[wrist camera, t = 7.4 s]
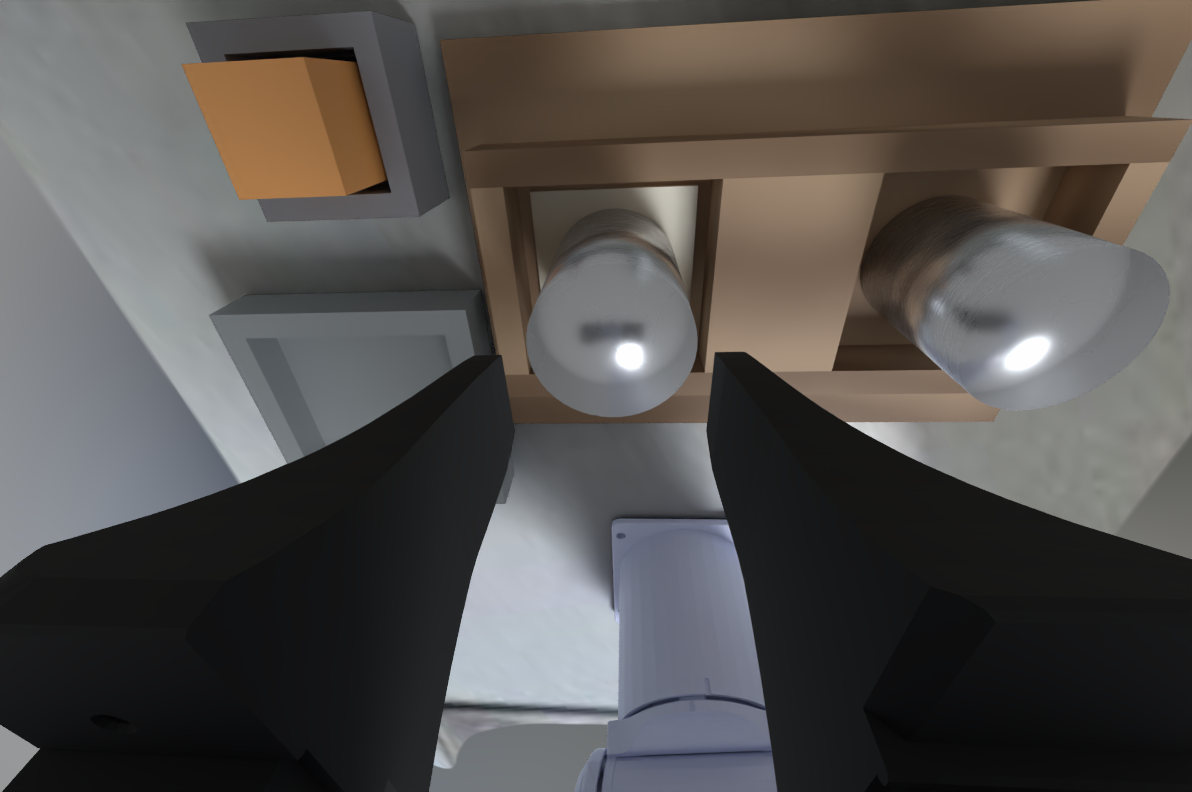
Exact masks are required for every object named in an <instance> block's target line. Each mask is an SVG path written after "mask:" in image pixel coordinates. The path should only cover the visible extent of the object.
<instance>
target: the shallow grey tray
mask: <svg viewBox="0 0 1192 792" xmlns="http://www.w3.org/2000/svg"><path fill="white" fill-rule="evenodd" d="M209 317H210V318H211V320H212V322H213V324H214V326H215V328H216V330H217V332H218V334H219V335H220V337H221V339H222V341H223V343H224V345H225V347H226V349H227V351H228V352H229V354H230V356H231V358H232V360H233V362H234V364H235V366H236V368H237V370H238V371H239V373H240V375H241V377H242V379H243V381H244V383H245V385H246V387H247V388H248V390H249V392H250V394H251V396H252V398H253V400H254V402H255V404H256V405H257V407H258V409H259V411H260V413H261V415H262V417H263V419H264V421H265V423H266V424H267V426H268V428H269V430H270V432H271V434H272V436H273V438H274V440H275V441H276V443H277V445H278V447H279V449H280V451H281V453H282V455H283V457H284V458H285V460H286V462H287V464H288V463H291V462H293V461H295V460H298V459H300V458H302V457H304V456H307V455H309V454H311V453H313V452H315V451H317V450H319V449H321V448H323V447H325V446H327V445H329V444H331V443H333V442H335V441H337V440H339V439H341V438H343V437H345V436H347V435H349V434H351V433H352V432H354V431H356V430H358V429H360V428H362V427H363V426H365V425H367V424H369V423H370V422H372V421H373V420H375V419H377V418H378V417H380V416H382V415H383V414H385V413H386V412H388V411H390V410H391V409H393V408H394V407H396V406H398V405H399V404H401V403H402V402H404V401H406V400H407V399H409V398H410V397H412V396H413V395H415V394H416V393H418V392H419V391H421V390H422V389H424V388H425V387H426V386H428V385H429V384H431V383H432V382H434V381H435V380H437V379H438V378H440V377H441V376H443V375H444V374H445V373H447V372H448V371H450V370H451V369H453V368H454V367H456V366H457V365H459V364H460V363H462V362H463V361H465V360H467V359H468V358H470V357H472V356H474V355H492V352H491V346H490V341H489V336H488V330H487V325H486V319H485V314H484V309H483V303H482V298H481V292H480V290H440V291H398V292H355V293H312V294H269V295H245V296H243V297H241V298H240V299H238V300H236V301H234V302H232V303H230V304H229V305H227V306H225V307H223V308H221V309H219V310H218V311H216V312H214V313H212V314H210V315H209ZM513 476H514V471H513V466H512V460H511V455H510V459H509V464H508V469H507V472H506V475H505V478H504V481H503V484H502V487H501V490H500V493H499V496H498V498H497V501H496V504H506V500H507V497H508V493H509V490H510V486H511V483H512V479H513Z"/></svg>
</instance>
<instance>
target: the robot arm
mask: <svg viewBox="0 0 1192 792" xmlns="http://www.w3.org/2000/svg"><path fill="white" fill-rule="evenodd" d="M706 431H707V438H708V445H709V452H710V458H711V465H712V470H713V474H714V477H715V481H716V484H717V488H718V491H719V495H720V498H721V502H722V505H723V509H724V512H725V515H726V519H727V520H721V519H616V520H614V521H613V522H612V528H611V530H612V557H613V585H614V612H615V621H616V622H617V623H619V692H618V720H614V721H609V722H608V735H607V748H598V749H596V750H594V751H593V752H592V754H591V756H590V757H589V759H588V762H587V763H586V765H585V766H584V767H583V769H582V771H581V772H580V775H579V777H578V780H577V784H576V788H575V792H1192V559H1188V558H1185V557H1182V556H1179V555H1175V554H1172V553H1169V552H1166V551H1162V550H1160V549H1156V548H1153V547H1150V546H1147V545H1143V544H1140V543H1137V542H1134V541H1130V540H1127V539H1124V538H1121V537H1117V536H1114V535H1111V534H1108V533H1104V532H1101V531H1098V530H1095V529H1092V528H1088V527H1085V526H1082V525H1079V524H1076V523H1073V522H1070V521H1067V520H1064V519H1061V518H1058V517H1055V516H1053V515H1050V514H1047V513H1044V512H1042V511H1039V510H1036V509H1033V508H1030V507H1028V506H1025V505H1022V504H1019V503H1017V502H1014V501H1011V500H1008V499H1006V498H1003V497H1001V496H998V495H996V494H993V493H990V492H988V491H985V490H983V489H980V488H978V487H975V486H973V485H970V484H968V483H966V482H963V481H961V480H959V479H957V478H954V477H952V476H950V475H947V474H945V473H943V472H941V471H938V470H936V469H934V468H931V467H929V466H927V465H925V464H923V463H921V462H918V461H916V460H914V459H912V458H910V457H908V456H906V455H904V454H902V453H900V452H898V451H896V450H894V449H892V448H890V447H889V446H887V445H885V444H883V443H881V442H879V441H877V440H875V439H873V438H872V437H870V436H868V435H866V434H864V433H862V432H861V431H859V430H857V429H856V428H854V427H852V426H850V425H849V424H847V423H846V422H844V421H842V420H841V419H839V418H838V417H836V416H835V415H833V414H831V413H830V412H828V411H827V410H825V409H823V408H822V407H821V406H819V405H818V404H816V403H815V402H813V401H812V400H810V399H809V398H807V397H806V396H805V395H803V394H802V393H800V392H799V391H798V390H796V389H795V388H793V387H792V386H791V385H789V384H788V383H787V382H785V381H784V380H783V379H781V378H780V377H779V376H777V375H776V374H775V373H773V372H772V371H771V370H769V369H768V368H767V367H766V366H764V365H763V364H762V363H760V362H759V361H758V360H756V359H755V358H754V357H752V356H751V355H749V354H748V353H746V352H715V355H714V364H713V374H712V383H711V393H710V402H709V411H708V421H707V430H706ZM514 432H515V429H514V423H513V418H512V412H511V406H510V400H509V394H508V389H507V383H506V377H505V371H504V365H503V360H502V355H474V356H472V357H470V358H468V359H467V360H465V361H463V362H462V363H460V364H459V365H457V366H456V367H454V368H453V369H451V370H450V371H448V372H447V373H445V374H444V375H443V376H441V377H440V378H438V379H437V380H435V381H434V382H432V383H431V384H429V385H428V386H426V387H425V388H424V389H422V390H421V391H419V392H418V393H416V394H415V395H413V396H412V397H410V398H409V399H407V400H406V401H404V402H402V403H401V404H399V405H398V406H396V407H394V408H393V409H391V410H390V411H388V412H386V413H385V414H383V415H382V416H380V417H378V418H377V419H375V420H373V421H372V422H370V423H369V424H367V425H365V426H363V427H362V428H360V429H358V430H356V431H354V432H352V433H351V434H349V435H347V436H345V437H343V438H341V439H339V440H337V441H335V442H333V443H331V444H329V445H327V446H325V447H323V448H321V449H319V450H317V451H315V452H313V453H311V454H309V455H307V456H304V457H302V458H300V459H298V460H295V461H293V462H291V463H288V464H286V465H284V466H281V467H279V468H277V469H274V470H272V471H270V472H267V473H265V474H263V475H260V476H258V477H256V478H253V479H251V480H248V481H246V482H243V483H241V484H238V485H235V486H233V487H230V488H227V489H225V490H222V491H219V492H217V493H214V494H211V495H208V496H205V497H203V498H200V499H197V500H194V501H191V502H188V503H185V504H182V505H179V506H177V507H174V508H171V509H167V510H165V511H161V512H158V513H155V514H152V515H149V516H145V517H142V518H139V519H136V520H132V521H129V522H125V523H122V524H118V525H115V526H112V527H108V528H105V529H101V530H98V531H95V532H91V533H88V534H84V535H81V536H77V537H74V538H71V539H67V540H63V541H60V542H56V543H52V544H48V545H45V546H43V547H41V548H40V549H38V550H36V551H35V552H33V553H32V554H30V555H29V556H27V557H26V558H25V559H23V560H22V561H21V562H19V563H18V564H17V565H15V566H14V567H13V568H12V569H10V570H9V571H8V572H7V573H5V574H4V575H3V576H2V577H0V725H2V726H3V727H5V728H7V729H8V730H10V731H12V732H13V733H15V734H16V735H18V736H20V737H21V738H23V739H24V740H26V741H28V742H29V743H31V744H32V745H34V746H36V747H37V748H40V750H39V751H38V752H37V753H36V754H35V755H34V756H33V758H32V759H31V760H30V761H29V762H28V763H27V764H26V765H25V766H24V768H23V769H22V770H21V771H20V772H19V773H18V774H17V775H16V777H15V778H14V779H13V780H12V781H11V782H10V783H9V785H8V786H7V787H6V788H5V789H4V790H3V792H429V787H430V781H431V775H432V768H433V763H434V757H435V751H436V745H437V739H438V733H439V728H440V723H441V718H442V712H443V707H444V702H445V696H446V691H447V686H448V681H449V675H450V670H451V665H452V661H453V656H454V651H455V647H456V642H457V637H458V632H459V628H460V623H461V619H462V614H463V610H464V606H465V601H466V597H467V593H468V588H469V584H470V580H471V576H472V572H473V569H474V566H475V562H476V559H477V556H478V553H479V550H480V547H481V544H482V541H483V538H484V536H485V533H486V530H487V527H488V524H489V521H490V518H491V516H492V513H493V510H494V507H495V504H496V501H497V498H498V496H499V493H500V490H501V487H502V484H503V481H504V478H505V475H506V472H507V469H508V464H509V459H510V454H511V449H512V444H513V438H514ZM620 533H622V534H620Z"/></svg>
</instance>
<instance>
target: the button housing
mask: <svg viewBox="0 0 1192 792" xmlns="http://www.w3.org/2000/svg"><path fill="white" fill-rule="evenodd" d="M186 24H187V27H188V29H189V32H190V34H191V37H192V39H193V42H194V44H195V47H196V49H197V51H198V54H199V56H200V59H201V61H202V63H210V62H228V61H245V60H262V59H279V58H296V57H308V58H332V57H349V56H356V59H357V63H358V67H359V71H360V74H361V78H362V82H363V86H364V90H365V94H366V97H367V101H368V105H369V109H370V113H371V117H372V120H373V124H374V128H375V132H376V136H377V140H378V143H379V147H380V151H381V155H382V159H383V162H384V166H385V170H386V174H387V178H388V180H386V181H383V182H381V183H378V184H375V185H373V186H370V187H368V188H365V189H362V190H360V191H357V192H355V193H352V194H349V195H347V196H325V197H299V198H272V199H258V201H259V203H260V206H261V208H262V211H263V213H264V215H265V218H266V220H267V222H276V221H305V220H334V219H363V218H393V217H420V216H421V215H423V214H424V213H426V212H428V211H429V210H431V209H432V208H434V207H436V206H437V205H439V204H440V203H442V202H444V201H445V200H447V199H448V198H449V193H448V188H447V183H446V178H445V173H444V168H443V162H442V157H441V152H440V147H439V142H438V137H437V132H436V127H435V122H434V117H433V112H432V107H431V102H430V97H429V92H428V87H427V82H426V77H425V72H424V67H423V62H422V57H421V52H420V47H419V42H418V37H417V32H416V27H415V24H413V23H409V22H406V21H403V20H400V19H396V18H393V17H390V16H386V15H383V14H380V13H377V12H373V11H360V12H344V13H329V14H313V15H298V16H282V17H267V18H251V19H236V20H220V21H205V22H189V23H186Z"/></svg>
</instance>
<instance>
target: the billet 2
mask: <svg viewBox="0 0 1192 792" xmlns="http://www.w3.org/2000/svg"><path fill="white" fill-rule="evenodd" d="M861 287H862V291H863V294H864V296H865V299H866V300H867V302H868V303H869V304H870V305H871V306H872V307H873V308H874V309H875V310H876V311H877V312H878V313H879V314H880V315H881V316H882V317H884V318H885V319H886V320H887V321H888V322H889V323H890V324H892V325H893V326H894V327H895V328H896V329H897V330H898V331H899V332H901V333H902V334H903V335H904V336H905V337H906V338H907V339H908V340H910V341H911V342H912V343H913V344H914V345H915V346H916V347H917V348H919V349H920V350H921V351H922V352H923V353H924V354H925V355H926V356H928V357H929V358H930V359H931V360H932V361H933V362H934V363H935V364H937V365H938V366H939V367H940V368H941V369H942V370H943V371H945V372H946V373H947V374H948V375H949V376H950V377H951V378H952V379H954V380H955V381H956V382H957V383H958V384H959V385H960V386H961V387H963V388H964V389H965V390H966V391H967V392H968V393H969V394H970V395H972V396H973V397H974V398H976V399H977V400H978V401H980V402H982V403H984V404H986V405H988V406H992V407H995V408H999V409H1005V410H1031V409H1038V408H1044V407H1048V406H1052V405H1056V404H1059V403H1062V402H1065V401H1068V400H1071V399H1073V398H1076V397H1078V396H1080V395H1082V394H1084V393H1086V392H1089V391H1091V390H1093V389H1094V388H1096V387H1098V386H1099V385H1101V384H1103V383H1105V382H1106V381H1107V380H1109V379H1110V378H1112V377H1113V376H1115V375H1116V374H1118V373H1119V372H1120V371H1121V370H1123V369H1124V368H1125V367H1126V366H1128V365H1129V364H1130V363H1131V362H1132V361H1133V360H1134V359H1135V358H1136V357H1137V356H1138V355H1139V354H1140V353H1141V352H1142V351H1143V349H1144V348H1145V347H1146V346H1147V345H1148V343H1149V342H1150V341H1151V339H1152V338H1153V337H1154V335H1155V334H1156V332H1157V330H1158V329H1159V327H1160V325H1161V323H1162V321H1163V319H1164V316H1165V314H1166V310H1167V307H1168V303H1169V293H1170V291H1169V282H1168V279H1167V276H1166V274H1165V272H1164V270H1163V269H1162V267H1161V266H1160V265H1159V264H1158V263H1157V262H1156V261H1155V260H1154V259H1153V258H1152V257H1150V256H1148V255H1146V254H1145V253H1143V252H1140V251H1137V250H1134V249H1131V248H1128V247H1125V246H1122V245H1119V244H1115V243H1112V242H1109V241H1106V240H1103V239H1100V238H1096V237H1093V236H1090V235H1087V234H1084V233H1081V232H1077V231H1074V230H1071V229H1068V228H1065V227H1062V226H1059V225H1055V224H1052V223H1049V222H1046V221H1043V220H1040V219H1036V218H1033V217H1030V216H1027V215H1024V214H1021V213H1017V212H1014V211H1011V210H1008V209H1005V208H1002V207H998V206H995V205H992V204H989V203H986V202H983V201H980V200H976V199H973V198H970V197H966V196H961V195H944V196H938V197H933V198H930V199H927V200H924V201H921V202H919V203H917V204H915V205H912V206H911V207H909V208H907V209H906V210H904V211H902V212H901V213H900V214H898V215H897V216H895V217H894V218H893V219H892V220H891V221H890V222H889V223H887V224H886V225H885V226H884V228H883V229H882V230H881V231H880V232H879V233H878V235H877V236H876V237H875V239H874V240H873V242H872V243H871V245H870V247H869V248H868V251H867V253H866V255H865V258H864V261H863V264H862V269H861Z"/></svg>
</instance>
